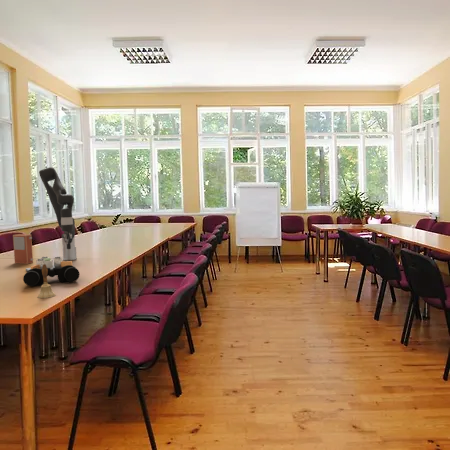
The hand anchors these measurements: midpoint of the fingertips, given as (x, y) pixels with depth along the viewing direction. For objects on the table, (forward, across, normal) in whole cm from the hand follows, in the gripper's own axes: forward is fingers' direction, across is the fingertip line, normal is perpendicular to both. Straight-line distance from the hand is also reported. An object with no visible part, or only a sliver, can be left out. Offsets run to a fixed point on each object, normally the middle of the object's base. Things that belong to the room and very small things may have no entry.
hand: (68, 249), depth 276 cm
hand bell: (+13, -70, +38) cm, 80 cm away
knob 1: (+11, 0, +21) cm, 24 cm away
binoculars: (+13, -39, +25) cm, 48 cm away
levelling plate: (+13, +6, +13) cm, 19 cm away
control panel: (+14, +51, +16) cm, 55 cm away
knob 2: (+12, 0, +5) cm, 12 cm away
